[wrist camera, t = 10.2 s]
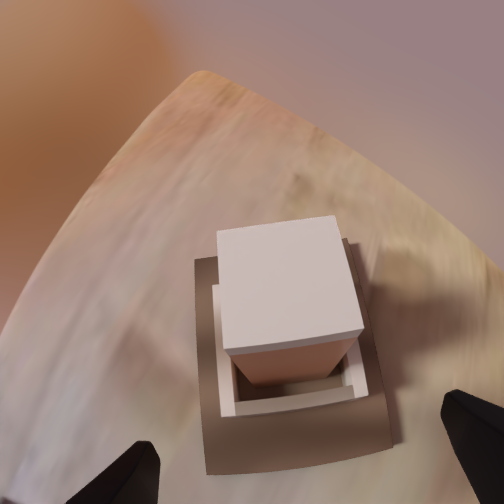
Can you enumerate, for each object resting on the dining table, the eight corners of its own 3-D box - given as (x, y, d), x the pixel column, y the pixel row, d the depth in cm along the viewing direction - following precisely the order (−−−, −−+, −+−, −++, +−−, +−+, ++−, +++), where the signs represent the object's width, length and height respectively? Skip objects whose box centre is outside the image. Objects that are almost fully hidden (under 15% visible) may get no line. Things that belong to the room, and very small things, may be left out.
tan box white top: (326, 378, 19) (364, 328, 10) (255, 388, 19) (223, 348, 10) (315, 313, 22) (334, 215, 12) (248, 322, 22) (216, 231, 12)
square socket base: (388, 446, 17) (409, 449, 13) (210, 473, 17) (194, 482, 14) (345, 244, 25) (352, 214, 22) (197, 265, 26) (183, 238, 22)
